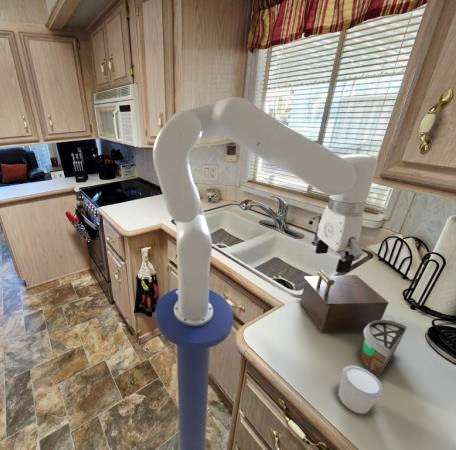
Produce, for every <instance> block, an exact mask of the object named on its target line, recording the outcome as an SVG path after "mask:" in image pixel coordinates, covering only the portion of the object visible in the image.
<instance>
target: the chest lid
mask: <svg viewBox="0 0 456 450" xmlns="http://www.w3.org/2000/svg"><path fill="white" fill-rule="evenodd" d="M316 274H317V275H313V276H309V275H307V276H303V280H304V282H305V281H306V282H307V283H308V285H309V286H310V287H311V288H312V289H313V291H314V292H315V293H316V294H317V295H318V296H319V298H320V299H321V300H322V301H323V302H324V304H325V305H326V306H351V305H387V306H388V305H389V301H388V300H387V299H385V298H384V297H383V296H382V295H381V294H379V293H378V292H377V291H376V290H375V289H374V288H373V287H371V286H370V285H369V284H368V283H366V282H365V281H364V280H363V279H361V278H360V277H359V275H357V274H345V275H329V274H328V273H327V272H326V271H325V270H323V269H320V270H318V271H317V272H316Z"/></svg>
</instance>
